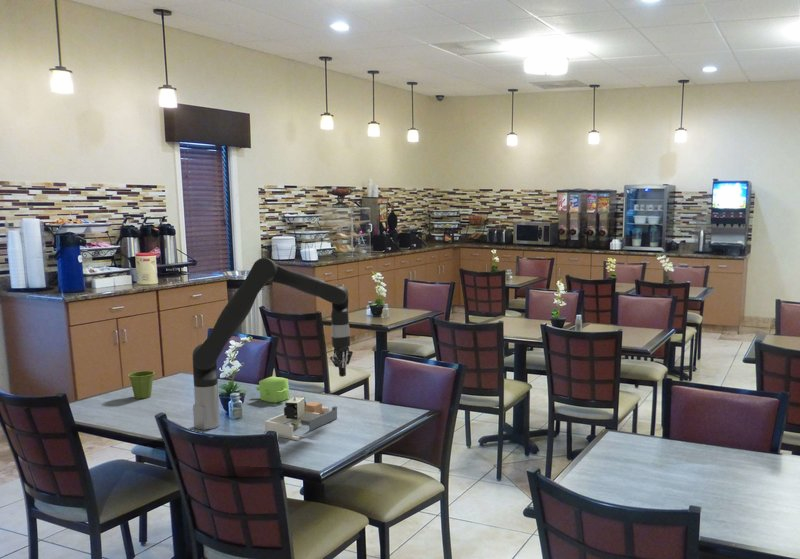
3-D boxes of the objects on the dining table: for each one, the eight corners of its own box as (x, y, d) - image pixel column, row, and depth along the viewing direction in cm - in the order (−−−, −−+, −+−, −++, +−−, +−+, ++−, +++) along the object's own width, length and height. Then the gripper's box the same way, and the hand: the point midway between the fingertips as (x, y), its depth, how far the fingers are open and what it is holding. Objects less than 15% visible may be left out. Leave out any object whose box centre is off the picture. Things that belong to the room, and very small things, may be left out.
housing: (298, 440, 258) (297, 427, 257) (265, 433, 266) (264, 421, 266) (339, 421, 280) (338, 409, 279) (307, 415, 288) (306, 403, 288)
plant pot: (161, 394, 326) (159, 371, 324) (146, 401, 314) (145, 377, 313) (139, 393, 328) (137, 370, 327) (123, 400, 317) (122, 376, 316)
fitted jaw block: (314, 420, 277) (314, 406, 277) (305, 418, 280) (304, 404, 279) (322, 417, 281) (321, 403, 281) (312, 415, 284) (312, 401, 283)
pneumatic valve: (307, 422, 275) (306, 393, 274) (296, 432, 264) (295, 401, 262) (294, 421, 276) (293, 392, 275) (282, 431, 265) (281, 401, 264)
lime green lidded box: (251, 400, 315) (249, 380, 314) (267, 394, 323) (265, 374, 321) (278, 405, 304) (276, 385, 303) (294, 399, 312) (292, 379, 311)
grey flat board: (311, 430, 265) (310, 417, 264) (308, 430, 266) (308, 417, 265) (337, 418, 279) (337, 406, 279) (335, 418, 280) (334, 406, 279)
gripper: (342, 331, 287) (344, 371, 289) (323, 337, 276) (325, 379, 278) (357, 332, 283) (359, 373, 285) (338, 338, 272) (340, 381, 274)
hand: (342, 376), depth 282 cm, fingers closed
